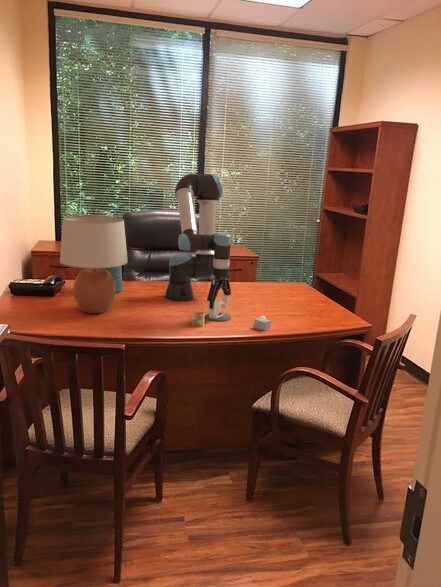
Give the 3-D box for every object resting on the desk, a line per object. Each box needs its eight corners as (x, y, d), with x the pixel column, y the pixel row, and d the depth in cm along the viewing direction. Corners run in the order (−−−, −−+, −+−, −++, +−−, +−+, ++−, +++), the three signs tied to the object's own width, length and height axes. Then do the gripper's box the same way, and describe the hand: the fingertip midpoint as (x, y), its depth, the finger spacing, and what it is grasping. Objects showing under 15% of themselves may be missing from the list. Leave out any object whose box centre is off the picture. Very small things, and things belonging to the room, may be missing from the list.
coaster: (201, 318, 225) (201, 317, 225) (212, 312, 236) (212, 310, 235) (224, 323, 220) (224, 321, 220) (235, 316, 231) (235, 315, 230)
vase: (128, 291, 264) (129, 243, 257) (103, 296, 252) (103, 245, 245) (110, 285, 274) (110, 239, 267) (85, 290, 262) (85, 241, 255)
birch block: (191, 325, 215) (192, 314, 214) (193, 322, 220) (194, 311, 218) (202, 326, 214) (203, 315, 213) (204, 323, 219) (205, 312, 218)
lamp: (86, 299, 246) (85, 213, 235) (138, 307, 236) (139, 219, 225) (47, 314, 218) (43, 218, 207) (105, 325, 209) (104, 225, 198)
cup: (204, 315, 228) (205, 298, 226) (224, 314, 231) (225, 298, 229) (208, 319, 222) (209, 303, 219) (229, 319, 225) (230, 302, 222)
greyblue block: (253, 327, 217) (254, 319, 216) (259, 325, 220) (260, 317, 219) (264, 331, 213) (265, 322, 212) (270, 329, 216) (270, 320, 215)
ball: (256, 324, 221) (256, 316, 220) (259, 322, 224) (260, 314, 223) (264, 326, 219) (265, 317, 218) (267, 323, 223) (268, 315, 222)
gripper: (215, 273, 209) (213, 319, 215) (239, 264, 231) (236, 306, 236) (200, 270, 212) (198, 316, 218) (225, 262, 234) (223, 304, 240)
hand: (218, 311), depth 227 cm, fingers open, 13 cm apart
